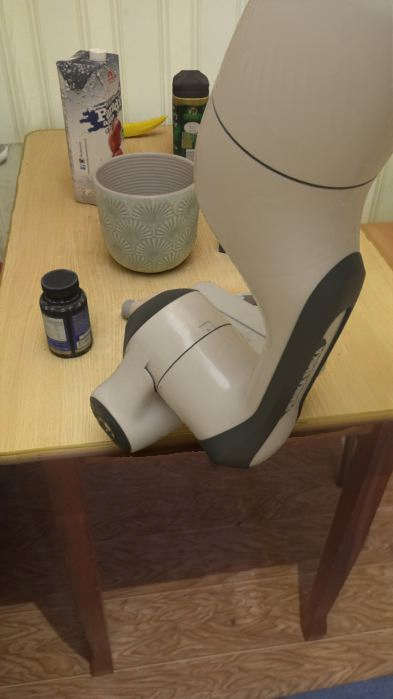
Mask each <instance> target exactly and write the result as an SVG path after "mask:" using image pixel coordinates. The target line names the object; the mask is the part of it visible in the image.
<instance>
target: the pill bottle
mask: <svg viewBox="0 0 393 699" xmlns="http://www.w3.org/2000/svg"><path fill="white" fill-rule="evenodd" d="M40 287H41V291H42V292H41V294H40V296H39V301H38V305H39V308H40V313H41V317H42V318H41V319H42V322H43V327H44V332H45V337H46V341H47V346H48V349H49V351H50V353H52V355H55V356H57V357H58V358H59V357H60V358H63V359H66V358H68V359H69V358H75V357H79V356H81V355H83V354H85V353H87V352H88V351H89V350H90V349H91V347H92V345H93V344H94V343H93V342H94V338H93V337H94V336H93V332H92V324H91V318H90V310H89V304H88V296H87V294H86V291H85V290H84V289H83V288H81V287H80V280H79V276H78V274H77V273H76V272H75V271H73V270H71V269H68V268H58V269H52V270H50V271H47V272H46V273H44V274H43V275H42V276H41V279H40Z"/></svg>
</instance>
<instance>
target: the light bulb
mask: <svg viewBox="0 0 393 699" xmlns="http://www.w3.org/2000/svg"><path fill="white" fill-rule="evenodd" d="M162 292H163V291H160V292H159V291H158V292H154V293H152V294H150V295H148V296H146V297H144V298H141V299H136V300H135V299H125V301H123V303H122V305H121V315H122V316H123V318H125V319H129V317H130V315H131V314H132V313H133V312H134V311H135V310H136V309H137V308H138V307H139V306H141V305H142V304H143V303H145V302H146V301H148V300H149V299H151V298H153V297H154V296H156V295H158V294H160V293H162Z"/></svg>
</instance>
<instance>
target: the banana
mask: <svg viewBox="0 0 393 699" xmlns="http://www.w3.org/2000/svg"><path fill="white" fill-rule="evenodd" d="M167 118H169V115H162V116H158V117H154V118H151V119H146V120H143V121H135V122H127V123H126V122H123V129H124V138H130V137H137V136H139V135H143V134H146V133H150V132H151V131H153V130H156V129H157V128H158V127H160V126H161V125H162V124H163V123H164V122H166V120H167Z"/></svg>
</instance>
